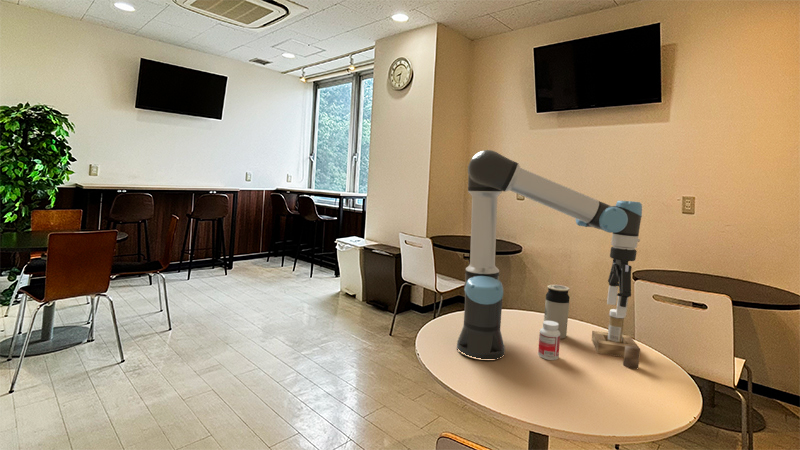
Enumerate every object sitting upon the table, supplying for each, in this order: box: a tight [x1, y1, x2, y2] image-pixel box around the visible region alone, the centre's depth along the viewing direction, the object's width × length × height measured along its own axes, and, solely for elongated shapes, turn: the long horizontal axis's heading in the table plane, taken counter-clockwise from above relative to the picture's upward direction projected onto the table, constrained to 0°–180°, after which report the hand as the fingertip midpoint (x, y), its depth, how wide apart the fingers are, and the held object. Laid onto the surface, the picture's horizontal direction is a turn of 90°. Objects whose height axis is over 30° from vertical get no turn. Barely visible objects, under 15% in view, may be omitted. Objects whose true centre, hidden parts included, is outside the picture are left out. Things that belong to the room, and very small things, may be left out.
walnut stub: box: [622, 345, 641, 370], centre depth 123 cm, size 4×4×6 cm
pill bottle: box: [537, 320, 561, 361], centre depth 127 cm, size 6×6×11 cm
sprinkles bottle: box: [607, 308, 625, 343], centre depth 135 cm, size 5×5×14 cm
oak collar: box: [591, 330, 639, 358], centre depth 136 cm, size 12×12×4 cm
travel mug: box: [543, 284, 571, 340], centre depth 146 cm, size 8×8×18 cm
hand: (615, 310), depth 135 cm, fingers open, 13 cm apart
